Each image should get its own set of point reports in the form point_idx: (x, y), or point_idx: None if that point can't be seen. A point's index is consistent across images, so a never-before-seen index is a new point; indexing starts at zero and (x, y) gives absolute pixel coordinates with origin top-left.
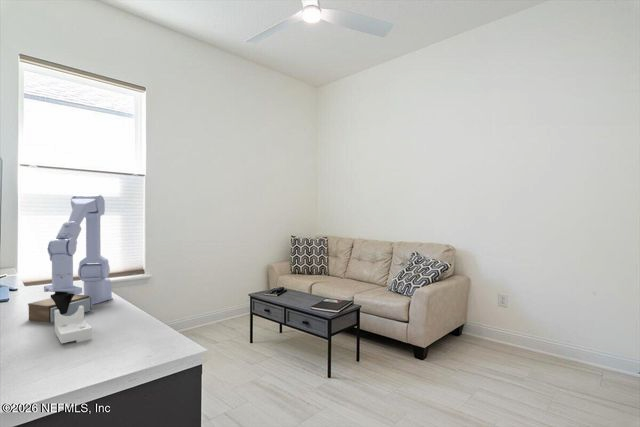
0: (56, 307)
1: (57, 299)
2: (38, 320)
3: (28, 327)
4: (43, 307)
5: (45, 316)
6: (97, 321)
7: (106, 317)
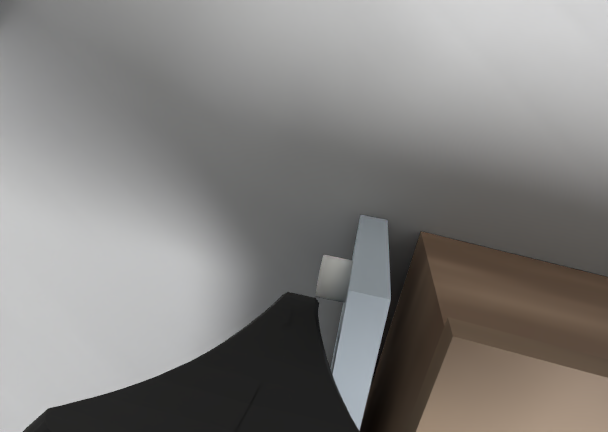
0: (340, 354)
1: (200, 414)
2: (603, 278)
3: (541, 58)
4: (585, 359)
5: (494, 275)
6: (8, 285)
7: (34, 377)
